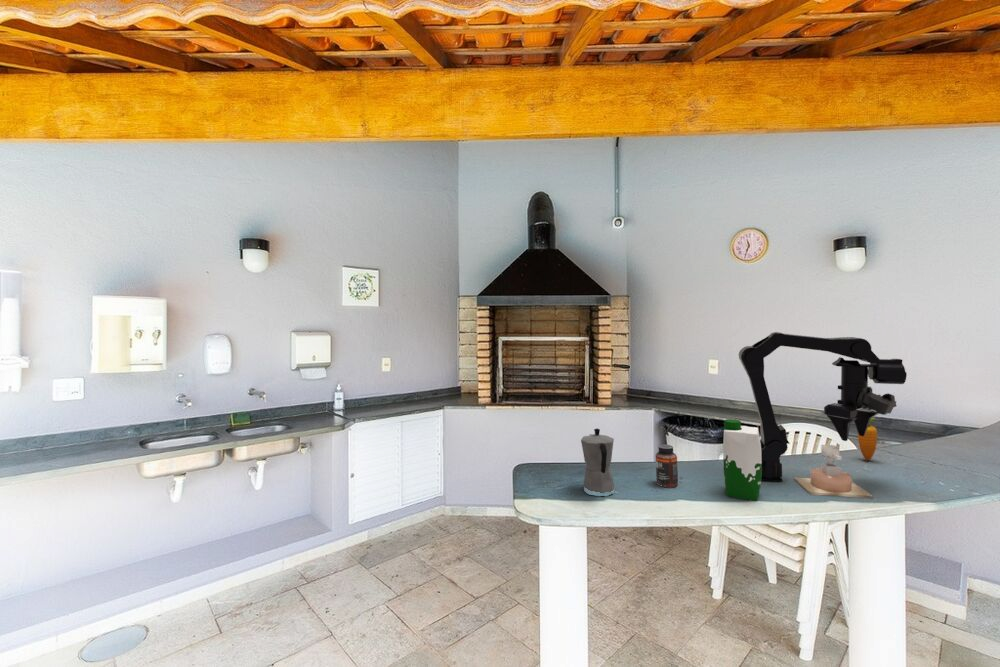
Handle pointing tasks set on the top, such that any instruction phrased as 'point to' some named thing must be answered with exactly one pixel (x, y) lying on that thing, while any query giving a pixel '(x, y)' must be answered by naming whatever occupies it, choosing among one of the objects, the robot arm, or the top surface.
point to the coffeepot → (598, 462)
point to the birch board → (813, 490)
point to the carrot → (868, 441)
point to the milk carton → (742, 460)
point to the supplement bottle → (666, 466)
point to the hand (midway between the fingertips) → (853, 438)
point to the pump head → (831, 453)
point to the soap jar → (831, 479)
